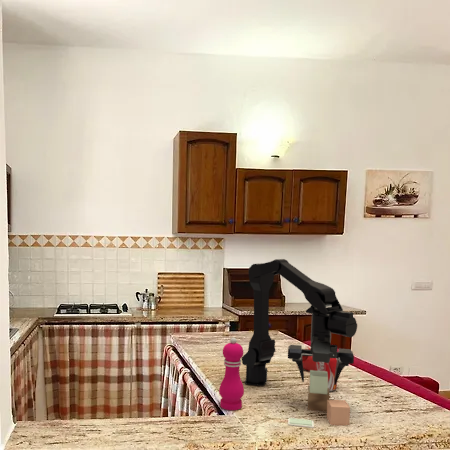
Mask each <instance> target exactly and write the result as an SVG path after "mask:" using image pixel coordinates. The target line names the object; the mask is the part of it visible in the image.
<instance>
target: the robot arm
mask: <svg viewBox="0 0 450 450" xmlns="http://www.w3.org/2000/svg"><path fill="white" fill-rule="evenodd" d="M277 275H279V276H281V277H282V278H284V279H285V280H286V281H288V282H289V283H290V284H292V286H295V288H297V289H298V290H299V291H301V292H302V294H303V296H304V299H305V301H307V302H308V303H309V304H310V307H308V308H307V309H305V312H306V313H307V314H311V330H310V331H311V332H310V350H309V349H308V348H302V345H299V344H289V346H288V348H287V359H290V360H291V361H292V362H294V363H296V366H297V369H298V370H299V374H300V378H301V381H302V383H304V382H305V374H304V371H305V369H303V359H302V356H312V360H313V361H314V362H325V363H329V362H330V358H337V363H336V370H335V377H334V385H336V383H337V384H338V381H339V378H340V375H341V373H342V372H343V369H344V368H346V367H349V365H352V364H354V362H355V357H354V356H355V354H354V352H353V351H352V349H351V348H350V349H349V348H341V347H339V348H338V345H337V344H332V343H331V341H332V334H335V335H339V336H343V337H346V338H347V337H348V338H353V337H354V336H355V335H356V333H357V330H358V323H357V319H356V318H355V317H354V312H353V311H344V308H343V307H342V306H341V303H340V301H339V300H338V298H337V296H336V291H335V289H333V287H331V286H329V285H327V284H324V283H321V282H319V281H318V282H317V281H315V280H313V279H312V278H310V277H308V275H306V274H305V273H303V272H302V271H300V270H299V269H298V268H297V267H295V266H294V265H292V264H291V263H289V261H288V260H287V259H285V258H281V259H280V258H278V259H274V260H271V261H267V262H264V263H262V262H261V263H253V264H251V266H249V268H248V279H249V280H248V281H249V284H250V286H251V288H252V289H253V334H252V336H251V338H250V340H249V342H248V349H247V352H246V353H245V354H243V356H242V357H241V359H240V360H241V365H243V366H245V367H246V368H245V381H244V384H245V385H249V386H262V387H264V386H266V383H267V381H268V367H267V364H270V363H271V360H272V358H273V357H274V356H275V355H274V354H275V353H276V340H275V339H272V338H271V336H270V331H269V329H270V327H269V325H270V321H269V319H270V317H269V316H270V311H269V310H270V304H269V303H270V302H269V301H270V297H269V296H270V289H271V287H272V285H273V283H274V280H275V279H274V278H275V276H277Z"/></svg>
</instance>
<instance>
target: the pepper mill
mask: <svg viewBox="0 0 450 450" xmlns="http://www.w3.org/2000/svg"><path fill="white" fill-rule="evenodd" d="M222 356H223V357H224V359H223V365H224V366H225V371H224V376H223V378H222V381H221V382H220V384H219V385H220V386H219V390H218V391H219V392H218V393H219V396H220V397H221V398H220V401H219V403H220V404H219V405H220V407H221V409H223V410H225V411H237V410H240V409H241V408H243V407H242V405H243V400H242V398H243V396H244V394H245V389H244V384H243V381H242V380H241V379H242V378H241V377H240V367H241V365H242V359H241V358H242V357H243V356H244V348H243V346H242V345H241V344H240V343H238V342H237V338H236V337H231V338H230V342H228V343H226V344H225V345H224V346H223V349H222Z"/></svg>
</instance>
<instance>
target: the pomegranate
mask: <svg viewBox="0 0 450 450" xmlns="http://www.w3.org/2000/svg"><path fill="white" fill-rule="evenodd" d="M306 349H309V350H310V349H311V347H309V346H306ZM302 359H303V370H304V371H308V372H310V370H314V371H316V362H314V361H313V360H312V356H302Z"/></svg>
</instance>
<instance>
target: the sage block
mask: <svg viewBox="0 0 450 450" xmlns="http://www.w3.org/2000/svg"><path fill="white" fill-rule="evenodd" d="M308 386H309V388H310V393H318V394H327V390H328V374H327V372H326V371H314V370H310V371H309V385H308Z"/></svg>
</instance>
